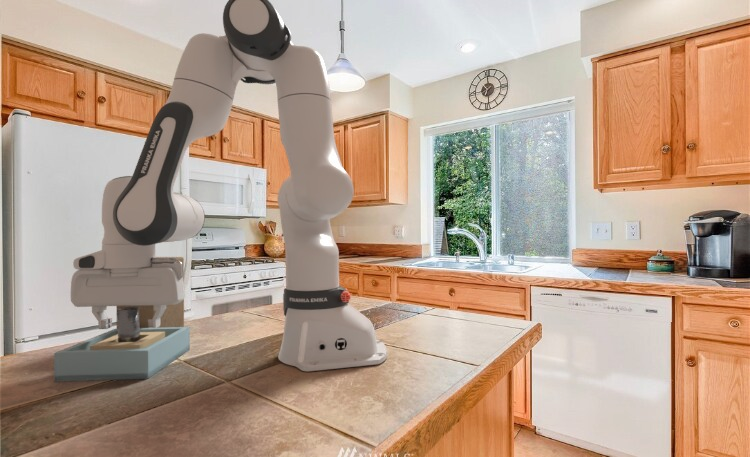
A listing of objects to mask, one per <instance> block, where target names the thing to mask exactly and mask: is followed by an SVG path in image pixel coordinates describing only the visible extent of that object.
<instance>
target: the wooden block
mask: <svg viewBox="0 0 750 457" xmlns="http://www.w3.org/2000/svg"><path fill="white" fill-rule="evenodd" d="M155 258H176V260H179V261H180V262H181V263H182V264H183V282H184V283H185V281H184V280H185V276H184V275H185V274H184V272H185V271H184V270H185V269H184V268H185V266H184V264H185V263H184V262H185V261H184V257H182V256H155ZM176 263H178V262H176ZM123 307H130V306H116V310H117V309H119V308H123ZM138 307H139V323H140V328H149V327H148V325H149V323H148V319H151V318H153V317H154V315H155V313H156V311H157V310H156V311H154V305H140V306H138ZM166 327H185V298H184V299H183V300H182V301H181V302H180V303H177V304H174V305H166V310H165V311H164V313H163V315H162V316H161V317H160V326H159V327H157V328H166ZM116 329H118V326H117V325H116Z"/></svg>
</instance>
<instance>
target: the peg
mask: <svg viewBox="0 0 750 457" xmlns="http://www.w3.org/2000/svg"><path fill="white" fill-rule="evenodd" d="M117 326H118V342H136V341H138V340H140V323H139V307H138V306H130V307H123V308H119V309H117V308H116V327H117Z"/></svg>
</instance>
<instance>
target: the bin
mask: <svg viewBox="0 0 750 457" xmlns="http://www.w3.org/2000/svg"><path fill="white" fill-rule="evenodd" d="M190 329H191V328H190V326H184V327H166V328H140V340H138V341H136V342H118V329H117V328H113V329H111V330H108V331H106V332H103V333H101V334H99V335H96V336H93V337H91V338H88V339H85V340H83V341H81V342H78V343H77V344H73V345H72V346H68V347H66V348H63V349H60V350H57V351H55V352H54V353H53V354H54V355H53V364H54V365H53V368H54V369H53V374H54V375H53V380H54V381H53V382H54V383H55V382H83V381H86V382H88V381H107V380H108V381H114V380H117V381H118V380H119V381H120V380H144V379H145V380H146V379H150V378H151V377H152V376H155V374H157V373H158V372H160V371H162V370H163V369H164V368H165V367H167V366H169V364H171V363H173V362H174V361H175V360H177V359H178V358H180V357H181V356H183V355H184V354H185V353H187V352H188V351H190V350H191V349H190V348H191V347H190V345H191V344H190V343H191V340H190V338H191V336H190V334H191V333H190V331H191V330H190Z"/></svg>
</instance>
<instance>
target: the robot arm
mask: <svg viewBox="0 0 750 457" xmlns="http://www.w3.org/2000/svg"><path fill="white" fill-rule="evenodd" d="M222 24H223V30H224V35H222V36H221V35H220V36H217V35H215V34H211V33H197V34H195V35H193V36H192V37H191V38H190V39H189V41H187V44H186V46H185V47H184V49H183V52H182V54H181V57H180V60H179V61H178V64H177V68H176V71H175V74H174V77H173V82H172V86H171V89H170V92H169V95H168V98H167V99H166V101H165V104H164V105H163V106H162V107H160V108H159V110H158V112H157V113H156V115H155V117H154V119H153V121H152V124H151V126H150V129H149V130H148V134H147V136H146V139H145V141H144V145H143V147H142V150H141V152H140V155H139V158H138V160H137V163H136V164H135V165H136V166H135V169H134V171H133V173H132V175H126V176H119V177H118V176H117V177H115V178H113V179H111V180H109V181H108V182H107V183H106V185H105V187H104V190H103V193H102V203H101V224H102V227H103V231H104V233H103V238H102V241H101V250H98V251H95V252H91V253H88V254H85V255H82V256H79V257H76V258H75V259H74V260H73V262H72V263H73V268H74V269H75V270H76V271H75V272H74V273H73V274H72V277H71V280H70V281H71V282H70V301H71V303H72V305H73V306H74V307H77V308H86V307H91V312H92V314H93V316H94V317H95V319H96V320H97V321H98V329H99V330H108V329H110V328H112V326H113V324H112V322H113V318H110V317H109V318H108V316H107V314H106V312H105V311H106V310H107V307H117V306H140V305H154V311H156V310H157V311H156V313H155V315H154V317H153V318H151V319H148V323H149V325H148V327H149V328H157V327H159V326H160V317H161V316H162V315H163V313H164V311H165V310H166V305H174V304H177V303H180V302H181V301H182V300H183V299H184V300H185V297H186V293H185V291H186V290H185V281H184V282H183V264H182V263H181V262H180V261H179V260H176V258H155V257H156V245H157V244H161V243H173V242H180V241H186V240H188V239H192V238H195V237H196V236H197V235H198V234H199V233H200V232H201V230H202V229H203V228H204V225H205V221H206V220H205V219H206V216H205V210H204V208H203V206H202V205H201V203H200V202H198V200H196V199H194V198H193V197H191V196H189V195H185V194H182V193H179V192H175V191H174V186H175V183H176V180H177V177H178V176H179V172H180V169H181V165H182V162H183V160H184V156H185V154H186V151H187V150H188V148H189V147H190V146H191V144H192V143H193V142H195V141H197V140H199V139H201V138H207V137H212V136H215V135H216V134H218V133H220V132H221V131H223V129H224V128H225V126H226V124H227V122H228V120H229V117H230V114H231V111H232V106H233V103H234V102H233V101H234V99H235V98H234V97H235V93H236V90H237V86H238V83H239V82H240V81H241V82H243V83H244V84H261V85H273V84H275V86H276V95H277V109H278V120H279V123H278V124H279V134H280V142H281V145H282V146H283V148H284V151H285V154H286V157H287V160H288V162H287V163H288V166H289V170H290V176H289V177H287V178H286V179H285V180H284V181H283V182H282V184H281V185H280V188H279V190H278V193H277V205H278V209H279V214H280V224H281V230H282V237H283V242H284V248H285V249H284V250H285V251H284V252H285V288H284V289H283V294H282V304H283V305H282V308H283V310H282V311H283V315H284V326H283V334H282V339H281V346H280V349H279V353H278V356H277V358H278V360H279V361H280V362H281V363H284V364H285V365H288V366H293V367H296V368H297V369H299V370H301V371H302V372H315V371H326V370H334V369H344V368H353V367H354V368H355V367H363V366H374V365H380V364H382V363H384V362H385V360H386V359H387V357H388V351H387V350H388V348H387V346H386V344H385V343H384V342H383V341H382V340H379V339H377V333H376V330H375V328H374V324H373V322H372V321H371V319H369V318H368V317H367V316H365V315H364V314H362V313H361V312H360V311H359V310H358V309H356V308H355V307H353V306H352V305H351V304H350V303H349V302H350V300H351V296H352V295H351V292H349V290H348V288H345V287H343V286H341V285H340V255H339V254H340V251H339V250H340V249H339V247H338V245H337V243H336V241H335V237H334V234H333V231H332V225H331V219H333V218H335V217H338V216H339V215H341V214H342V213H343V212H344V211H345V210H347V209H348V207H349V206H350V205H351V203H352V201H353V198H354V193H355V191H354V189H355V188H354V183H353V180H352V178H351V177H350V174H349V173H348V172H347V171H346V170H345V169H344V167H343V164H342V161H341V156H340V153H339V151H338V148H337V144H336V138H335V133H334V132H335V130H334V120H333V108H332V96H331V89H330V82H329V76H328V73H327V69H326V68H327V67H326V66H325V62H324V59H323V57H322V55H321V54H320V53H319V52H318V51H317V50H315V49H313V48H312V47H309V46H303V45H295V44H294V43H293V42H292V33H291V31H290V29H289V27H288V26H287V24H286V23H285V22H284V20H283V19H282V17H281V15H280V14H279V12H278V11H277V9H276V8H275V6H274V5H273V4H272V3H271V1H269V0H228V1H227V2H226V4H225V5H224V8H223V13H222ZM176 262H178V263H176Z"/></svg>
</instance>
